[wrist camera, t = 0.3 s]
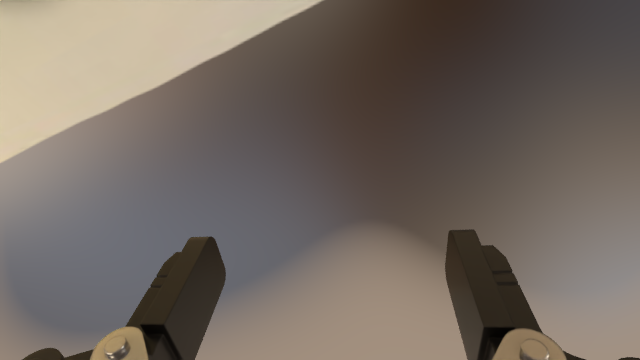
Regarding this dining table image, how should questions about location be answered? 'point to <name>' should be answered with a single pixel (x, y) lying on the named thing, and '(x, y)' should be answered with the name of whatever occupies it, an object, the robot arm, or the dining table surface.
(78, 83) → the dining table surface
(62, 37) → the dining table surface
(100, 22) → the dining table surface
